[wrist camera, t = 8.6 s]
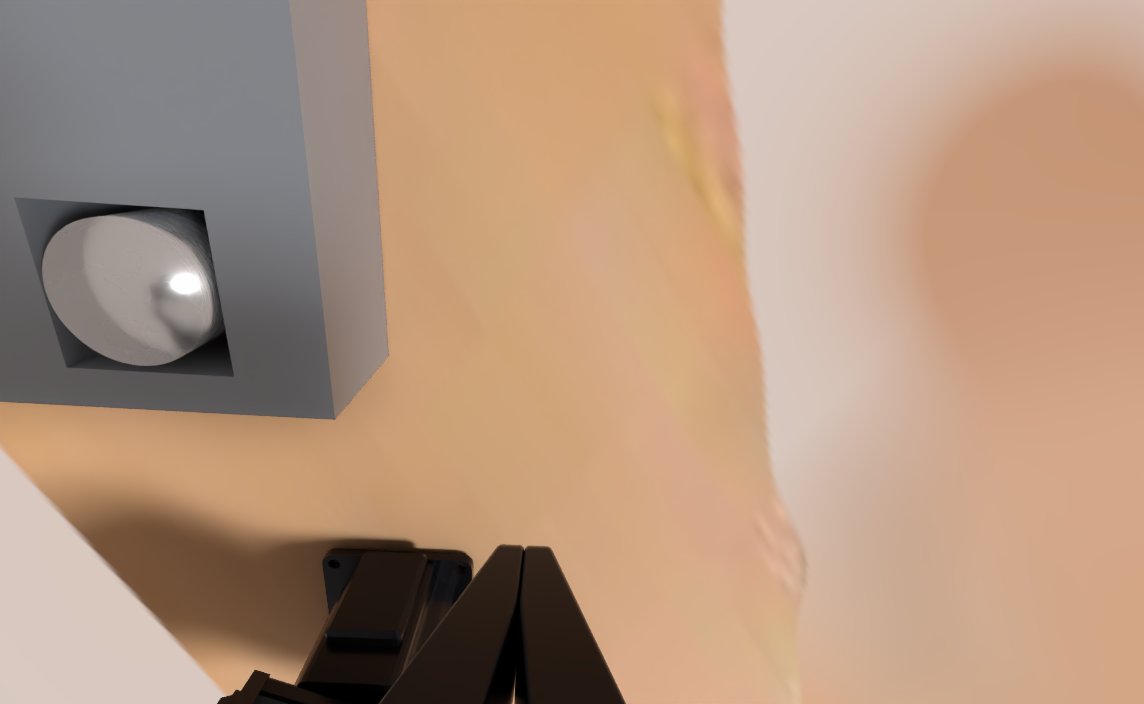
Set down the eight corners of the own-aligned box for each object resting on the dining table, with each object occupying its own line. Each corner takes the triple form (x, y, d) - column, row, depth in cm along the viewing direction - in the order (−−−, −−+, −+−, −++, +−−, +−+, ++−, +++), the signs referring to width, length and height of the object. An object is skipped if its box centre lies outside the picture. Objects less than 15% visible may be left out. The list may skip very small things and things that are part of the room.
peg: (297, 318, 19) (216, 370, 15) (183, 311, 19) (66, 361, 14) (282, 203, 17) (187, 222, 13) (159, 195, 17) (20, 211, 13)
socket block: (388, 355, 20) (334, 419, 15) (119, 340, 20) (-19, 400, 15) (350, -241, 14) (241, -437, 9) (-44, -279, 14) (-364, -502, 9)
